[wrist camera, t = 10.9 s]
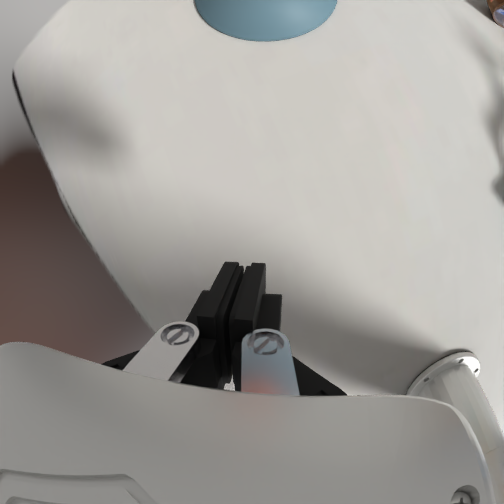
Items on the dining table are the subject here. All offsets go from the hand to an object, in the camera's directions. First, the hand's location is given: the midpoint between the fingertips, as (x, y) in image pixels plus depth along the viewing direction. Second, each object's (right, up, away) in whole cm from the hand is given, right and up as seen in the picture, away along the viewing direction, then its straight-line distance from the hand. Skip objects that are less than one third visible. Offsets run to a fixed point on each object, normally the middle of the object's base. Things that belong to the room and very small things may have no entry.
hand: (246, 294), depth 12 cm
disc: (+1, +25, +4) cm, 26 cm away
